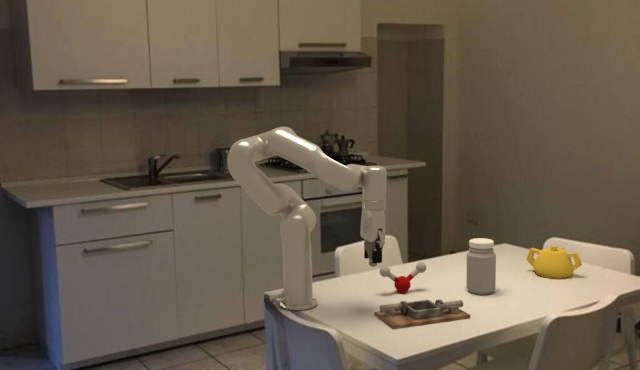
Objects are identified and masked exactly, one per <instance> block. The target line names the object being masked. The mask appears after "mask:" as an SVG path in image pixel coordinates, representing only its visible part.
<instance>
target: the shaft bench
mask: <svg viewBox="0 0 640 370" xmlns="http://www.w3.org/2000/svg"><path fill="white" fill-rule="evenodd" d="M434 301H435V302H433V301H432V300H430V299H423V300H415V301H406V300H401V301H400V302H397V303H390V304H381V305H379V311H377V310H376V311H374V313H373V315H374V316H375V317H376V318H378V319H379V320H380V321H382V322H383V323H384V324H386V325H387V326H388V327H390V328H391V329H392V330H395V329H396V330H397V329H403V328H409V327H416V326H424V325H431V324H436V323H437V324H438V323H446V322H452V321H453V322H454V321H459V320H466V319H471V314H469V313H468V312H466V311H465V310H462V309H460V308H463V307H464V301H463V300H462V299H459V300H451V301H443V300H442V299H436V300H434Z"/></svg>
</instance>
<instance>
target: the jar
mask: <svg viewBox="0 0 640 370" xmlns="http://www.w3.org/2000/svg"><path fill="white" fill-rule="evenodd" d="M468 246H469V248H468V250H469V251H468V252H467V253H466V285H465V286H466V290H468V292H469V293H470V294H473V295H478V296H486V295H491V294H493V292H495V290H496V283H497V281H496V278H497V277H496V275H497V273H496V271H497V269H496V267H497V255H496V253H495V252H494V251H495V249H494V247H495V241H494V240H493V239H489V238H486V237H483V238H481V237H480V238H479V237H477V238H476V237H475V238H471V239H469V241H468Z"/></svg>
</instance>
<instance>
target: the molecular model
mask: <svg viewBox="0 0 640 370" xmlns="http://www.w3.org/2000/svg"><path fill="white" fill-rule="evenodd" d="M426 271H427V265H426V264H425V263H424V262H421V261H420V262H417V264H415V269H414V270H413V271H411V273H409V274H408V275H407V276H404V275H401V276H396V275H395V274H394V273H392V272H391V269H390V268H389V267H388V266H386V265H384V266H381V267H380V269H379V275H380V276H382V277H383V278H386V277H387V278H388V279H390V280H391V281H392V282H394V283H393V284H394V288H395V290H396V291H398V292H400V293H406V292H408V290H410V288H411V281H412V280H413V279H414V278H415V277H416V276H417V275H419V274H421V273H422V274H423V273H424V272H426Z"/></svg>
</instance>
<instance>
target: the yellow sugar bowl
mask: <svg viewBox="0 0 640 370" xmlns="http://www.w3.org/2000/svg"><path fill="white" fill-rule="evenodd" d="M535 254H537V256H536V257H535V258H534V256H535ZM571 257H573V261H572V259H571ZM526 261H527V262H528V263H529V265H531V267H532V269H533V271H534V273H535V274H536V275H537V276H539V277H542V278H546V279H557V280H558V279H559V280H560V279H566V278H569V277H571V275H572V274H573V273H574V272H575V271H576V270H577V269H578V268H580V267H581V266H582V261H581V259H580V254H579V252H567V250H565V248H564V247H562V246H558V245H556V244H552V245H549V247H545V248H542V249H539V248H534V247H531V248H530V249H529V250H528V254H527V256H526ZM573 262H574V263H573Z"/></svg>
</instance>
